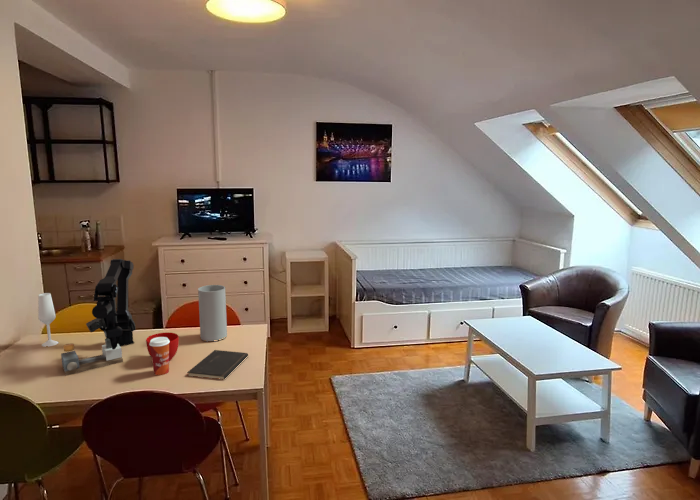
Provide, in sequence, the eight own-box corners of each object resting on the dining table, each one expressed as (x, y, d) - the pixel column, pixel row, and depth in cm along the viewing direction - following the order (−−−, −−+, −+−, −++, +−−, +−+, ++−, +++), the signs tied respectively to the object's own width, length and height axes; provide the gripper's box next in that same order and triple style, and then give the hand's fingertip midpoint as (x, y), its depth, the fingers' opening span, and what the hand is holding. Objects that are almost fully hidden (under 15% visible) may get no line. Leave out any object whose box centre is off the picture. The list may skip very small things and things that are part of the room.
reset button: (73, 347, 188) (73, 342, 187) (74, 350, 185) (74, 345, 185) (63, 349, 186) (62, 344, 185) (64, 352, 183) (64, 347, 182)
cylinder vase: (222, 342, 217) (220, 291, 213) (196, 342, 217) (194, 291, 213) (230, 333, 230) (228, 285, 225) (205, 332, 230) (203, 284, 225)
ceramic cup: (163, 349, 209) (162, 328, 207) (185, 358, 199) (184, 336, 197) (136, 358, 198) (134, 336, 196) (158, 368, 189) (157, 345, 187)
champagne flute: (61, 341, 216) (56, 292, 212) (53, 346, 210) (47, 296, 205) (47, 341, 216) (41, 292, 212) (38, 346, 210) (32, 296, 205)
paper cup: (159, 378, 180) (156, 344, 178) (147, 373, 184) (144, 340, 182) (175, 370, 187) (173, 338, 184) (164, 366, 191) (162, 334, 188)
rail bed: (117, 354, 202) (116, 341, 201) (123, 361, 194) (121, 348, 193) (62, 366, 189) (60, 353, 188) (65, 375, 181) (64, 361, 180)
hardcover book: (187, 377, 182) (187, 372, 182) (214, 354, 205) (214, 349, 204) (224, 381, 179) (224, 375, 179) (248, 357, 202) (248, 353, 201)
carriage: (117, 351, 201) (116, 334, 200) (122, 357, 195) (120, 340, 194) (102, 354, 197) (101, 337, 196) (106, 360, 191) (105, 343, 190)
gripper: (82, 309, 195) (86, 343, 197) (91, 320, 180) (94, 357, 183) (111, 304, 202) (114, 337, 204) (121, 315, 187) (124, 351, 190)
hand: (111, 345), depth 195 cm, fingers open, 9 cm apart
